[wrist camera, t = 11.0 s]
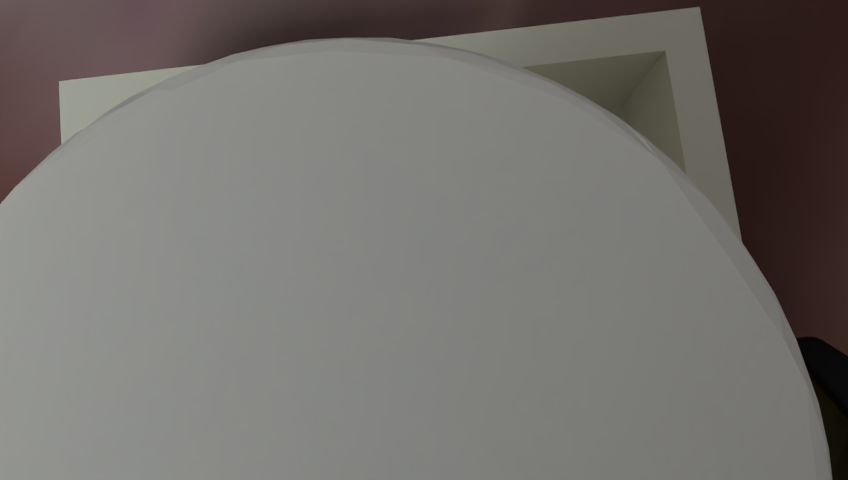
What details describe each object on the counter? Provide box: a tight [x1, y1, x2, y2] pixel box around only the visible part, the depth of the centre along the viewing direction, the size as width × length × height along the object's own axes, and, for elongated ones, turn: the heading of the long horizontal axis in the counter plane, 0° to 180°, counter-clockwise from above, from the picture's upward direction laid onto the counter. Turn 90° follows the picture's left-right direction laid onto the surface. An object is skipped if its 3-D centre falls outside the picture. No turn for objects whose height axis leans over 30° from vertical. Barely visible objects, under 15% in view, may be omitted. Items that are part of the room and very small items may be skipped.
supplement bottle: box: [0, 38, 832, 480], centre depth 10 cm, size 7×7×13 cm
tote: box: [59, 7, 742, 242], centre depth 15 cm, size 13×13×4 cm
